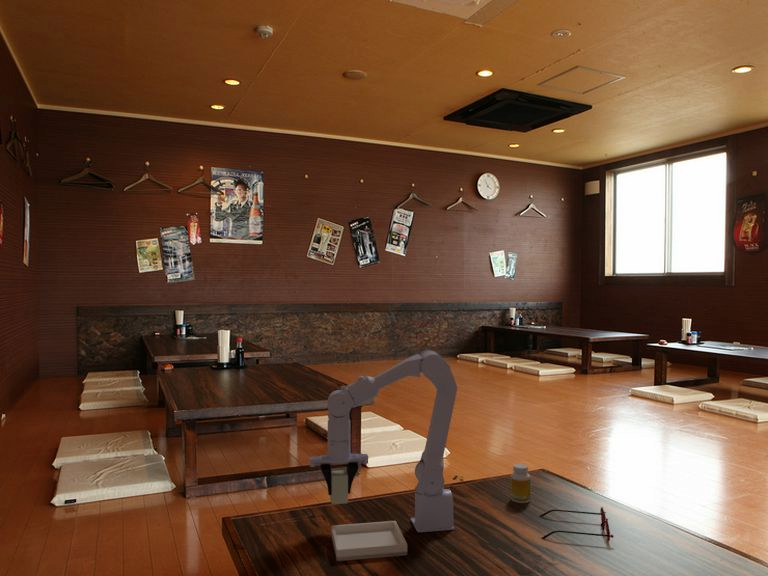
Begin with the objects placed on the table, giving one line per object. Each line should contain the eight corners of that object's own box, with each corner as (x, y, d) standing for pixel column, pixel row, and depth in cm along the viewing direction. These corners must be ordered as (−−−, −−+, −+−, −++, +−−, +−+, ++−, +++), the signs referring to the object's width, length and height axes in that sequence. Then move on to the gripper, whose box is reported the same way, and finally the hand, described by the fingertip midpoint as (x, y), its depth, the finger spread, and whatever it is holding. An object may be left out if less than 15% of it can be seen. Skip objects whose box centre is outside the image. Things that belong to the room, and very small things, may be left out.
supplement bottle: (530, 504, 161) (530, 469, 161) (510, 502, 162) (511, 468, 162) (529, 497, 166) (529, 463, 166) (510, 495, 168) (510, 462, 167)
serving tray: (395, 530, 144) (395, 520, 144) (407, 555, 131) (407, 544, 131) (331, 535, 141) (331, 525, 141) (336, 561, 128) (336, 550, 128)
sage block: (346, 497, 148) (346, 469, 148) (347, 503, 144) (347, 475, 144) (330, 498, 147) (330, 470, 147) (331, 504, 143) (331, 476, 143)
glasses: (613, 547, 136) (613, 526, 136) (541, 540, 140) (541, 520, 140) (605, 523, 149) (605, 504, 149) (538, 517, 153) (539, 498, 153)
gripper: (365, 433, 150) (365, 485, 151) (309, 436, 148) (309, 489, 148) (369, 440, 143) (369, 495, 144) (310, 443, 141) (310, 499, 141)
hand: (339, 493), depth 145 cm, fingers closed on sage block, 4 cm apart
